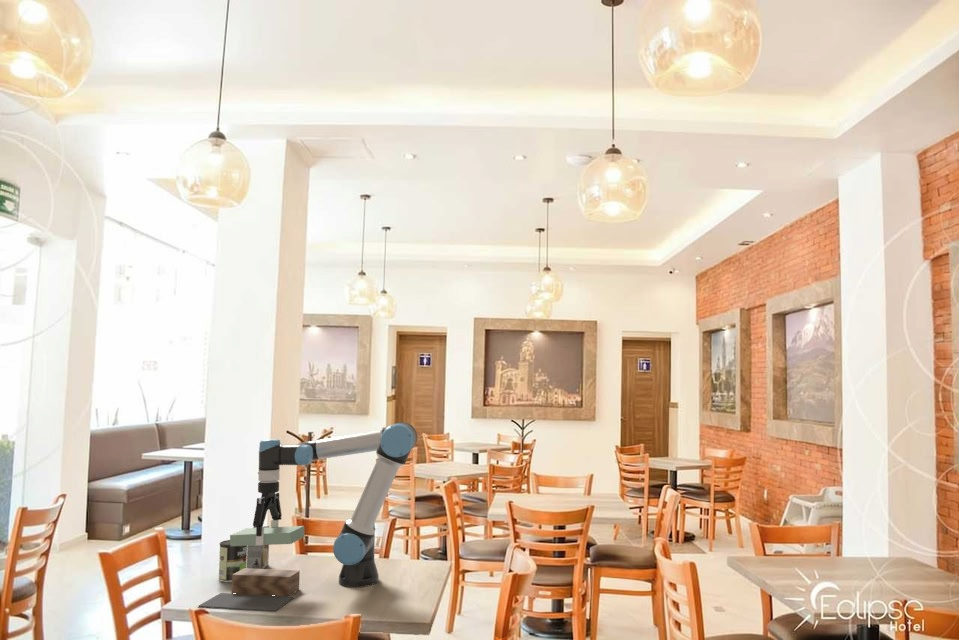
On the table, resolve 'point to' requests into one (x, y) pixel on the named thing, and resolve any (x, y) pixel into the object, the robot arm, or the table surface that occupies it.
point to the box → (265, 582)
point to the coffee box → (257, 555)
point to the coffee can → (231, 560)
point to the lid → (268, 536)
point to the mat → (247, 602)
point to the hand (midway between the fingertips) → (267, 541)
